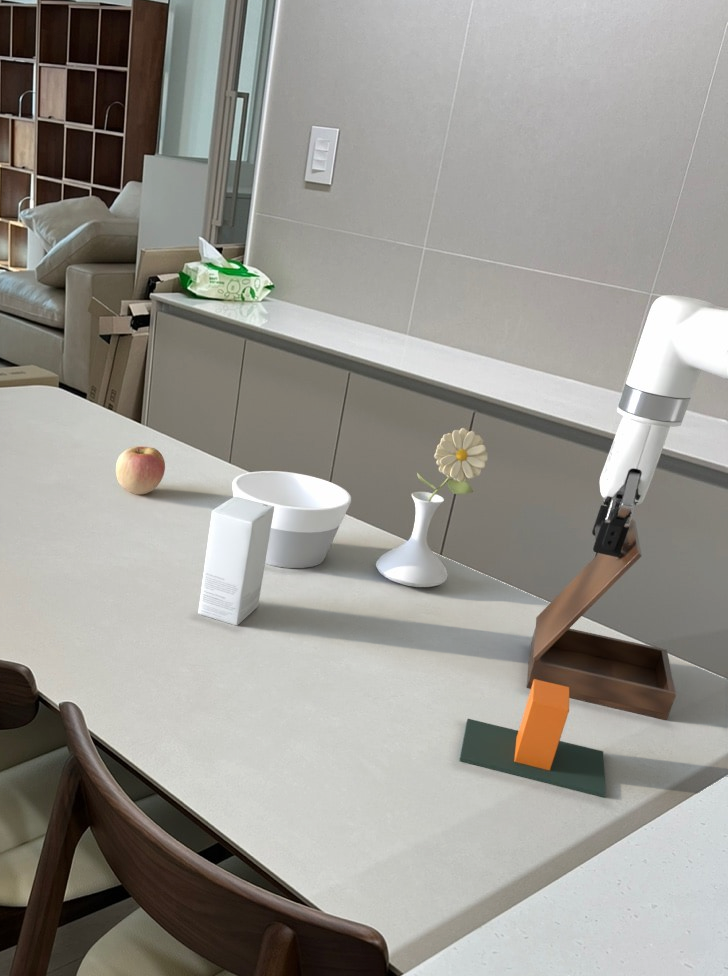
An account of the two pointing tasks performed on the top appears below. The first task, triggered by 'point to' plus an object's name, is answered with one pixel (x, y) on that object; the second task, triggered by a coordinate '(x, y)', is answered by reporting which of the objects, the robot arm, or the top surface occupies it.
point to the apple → (140, 469)
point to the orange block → (542, 724)
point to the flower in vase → (415, 558)
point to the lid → (584, 591)
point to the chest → (607, 672)
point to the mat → (567, 770)
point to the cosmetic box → (235, 559)
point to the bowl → (296, 514)
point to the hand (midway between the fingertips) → (605, 544)
